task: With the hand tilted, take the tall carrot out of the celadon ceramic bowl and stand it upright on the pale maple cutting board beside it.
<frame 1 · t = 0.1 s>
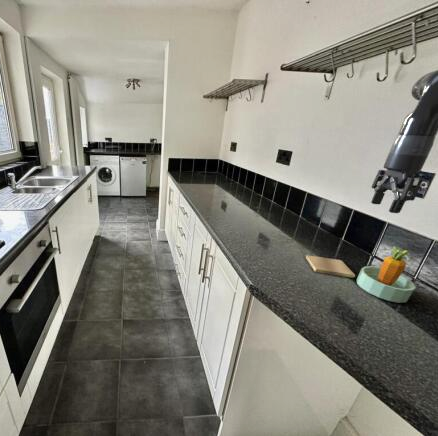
hand: (383, 208, 70), 26 cm above the table, tool pointing down, fingers open, 8 cm apart
bowl: (380, 290, 75), on the table
cutting board: (328, 267, 86), on the table
carrot: (380, 289, 74), resting in bowl
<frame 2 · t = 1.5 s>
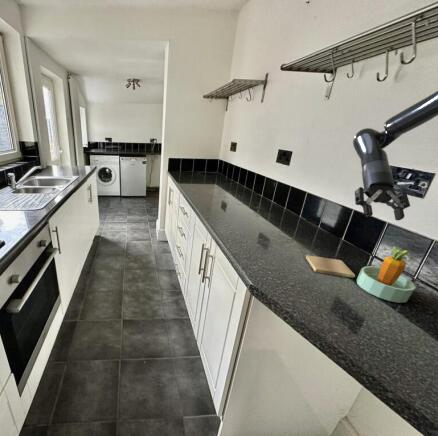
hand: (384, 217, 77), 21 cm above the table, tool tilted 45°, fingers open, 8 cm apart
nothing on the table moved.
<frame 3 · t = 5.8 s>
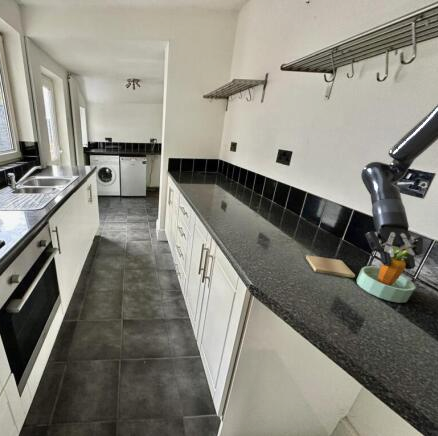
hand: (398, 266, 69), 10 cm above the table, tool tilted 45°, fingers closed on carrot, 5 cm apart
carrot: (380, 289, 74), resting in bowl, touching gripper
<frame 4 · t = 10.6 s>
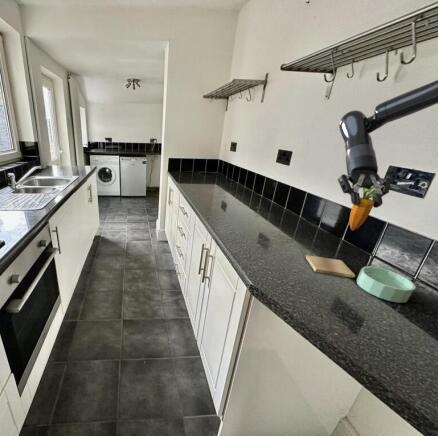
hand: (367, 205, 73), 26 cm above the table, tool tilted 45°, fingers closed on carrot, 5 cm apart
carrot: (352, 231, 78), point 16 cm above the table, touching gripper
when the fingers open (11 cm above the table, at t = 15.3 s): carrot stays where it is, resting on cutting board.
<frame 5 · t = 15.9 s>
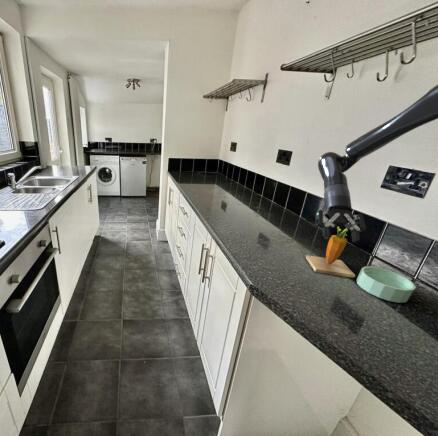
hand: (341, 240, 80), 12 cm above the table, tool tilted 45°, fingers open, 8 cm apart
carrot: (328, 264, 86), point 1 cm above the table, touching cutting board
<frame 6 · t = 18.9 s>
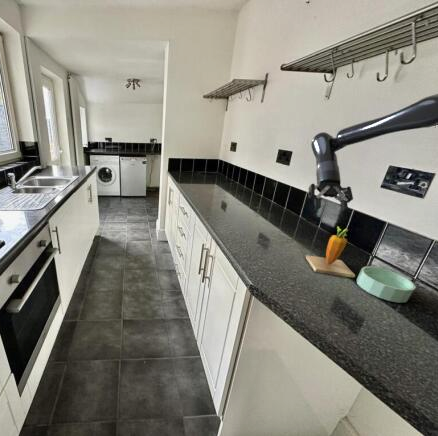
hand: (331, 209, 89), 19 cm above the table, tool tilted 45°, fingers open, 8 cm apart
nothing on the table moved.
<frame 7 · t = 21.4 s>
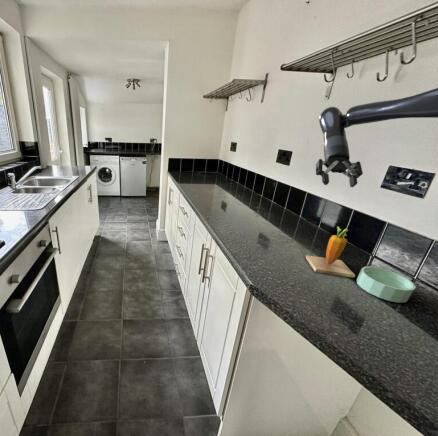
hand: (339, 184, 86), 29 cm above the table, tool tilted 45°, fingers open, 8 cm apart
nothing on the table moved.
at the end: carrot inside the target area on the cutting board (0.2 cm from its centre), point 1.0 cm above the cutting board's base; carrot tilted 0°; carrot touching cutting board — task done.
